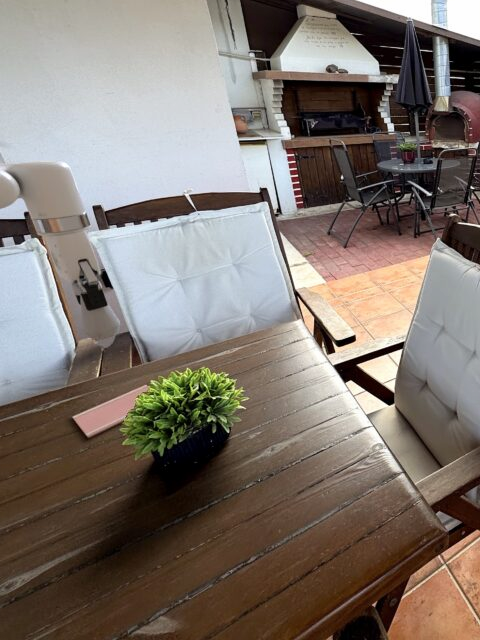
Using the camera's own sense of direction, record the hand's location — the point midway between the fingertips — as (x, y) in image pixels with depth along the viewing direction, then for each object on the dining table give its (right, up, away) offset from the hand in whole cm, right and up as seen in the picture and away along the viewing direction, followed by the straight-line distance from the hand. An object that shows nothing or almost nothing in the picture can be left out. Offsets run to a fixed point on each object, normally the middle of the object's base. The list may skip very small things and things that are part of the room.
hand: (93, 304), depth 86 cm
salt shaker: (0, -7, +3) cm, 8 cm away
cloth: (+1, -25, +5) cm, 25 cm away
